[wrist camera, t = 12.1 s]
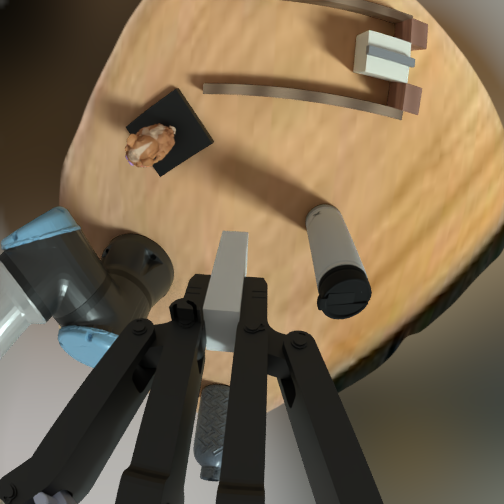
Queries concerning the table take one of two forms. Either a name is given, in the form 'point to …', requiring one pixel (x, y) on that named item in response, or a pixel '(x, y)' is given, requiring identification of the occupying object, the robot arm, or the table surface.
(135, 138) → the figurine
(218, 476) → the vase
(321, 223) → the travel mug
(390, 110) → the guide
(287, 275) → the table surface
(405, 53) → the block
